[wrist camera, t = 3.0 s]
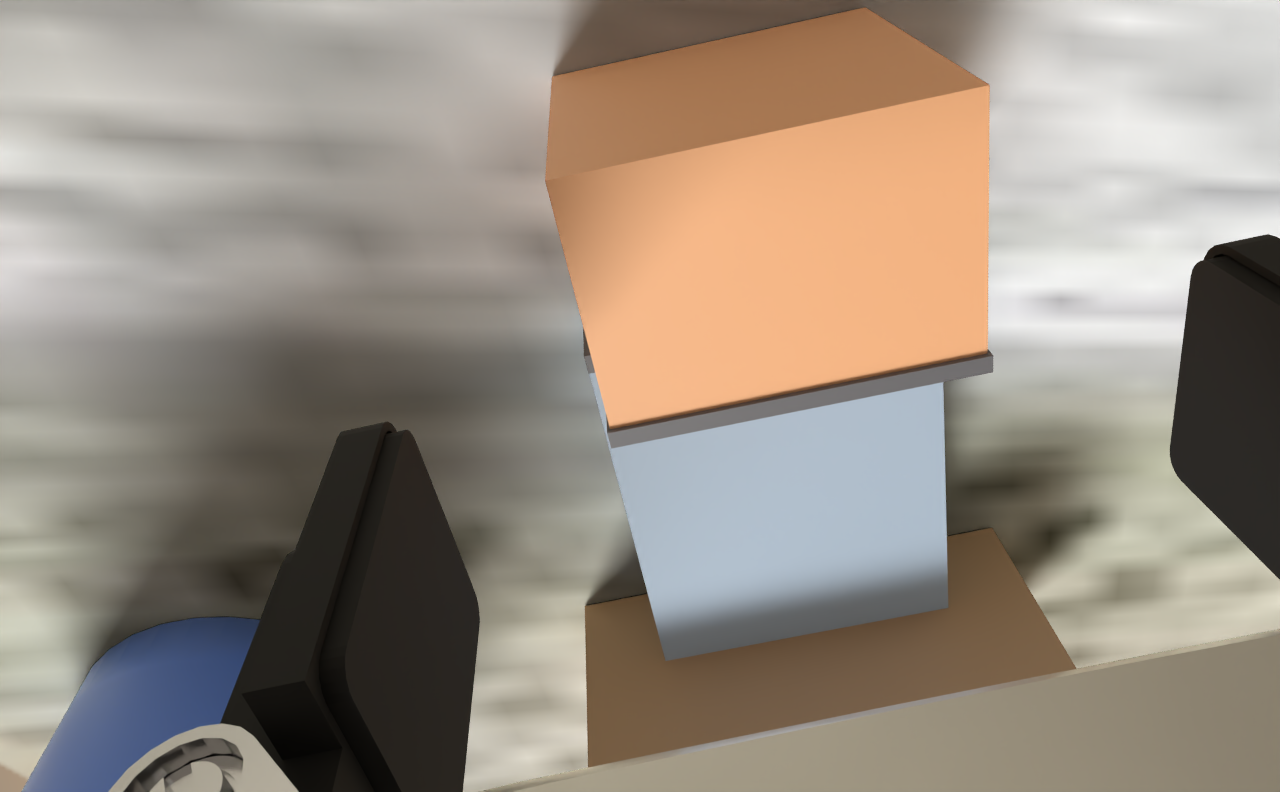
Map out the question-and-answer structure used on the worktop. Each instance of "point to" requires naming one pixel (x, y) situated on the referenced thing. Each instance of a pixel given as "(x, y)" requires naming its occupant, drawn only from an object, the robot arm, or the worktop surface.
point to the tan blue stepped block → (799, 580)
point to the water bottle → (143, 700)
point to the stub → (773, 222)
